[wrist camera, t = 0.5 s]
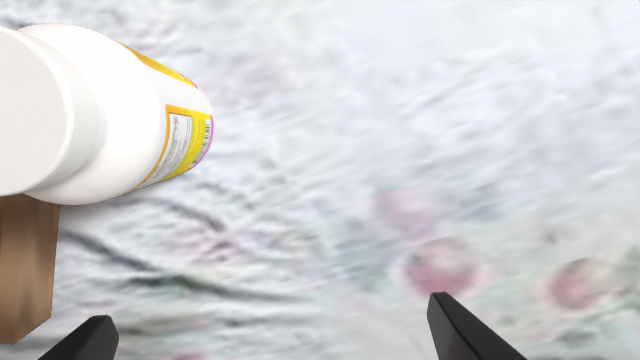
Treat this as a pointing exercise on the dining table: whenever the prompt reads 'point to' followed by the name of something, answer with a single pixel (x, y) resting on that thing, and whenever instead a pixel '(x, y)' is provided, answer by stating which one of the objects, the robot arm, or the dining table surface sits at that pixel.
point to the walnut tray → (26, 264)
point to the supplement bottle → (92, 116)
